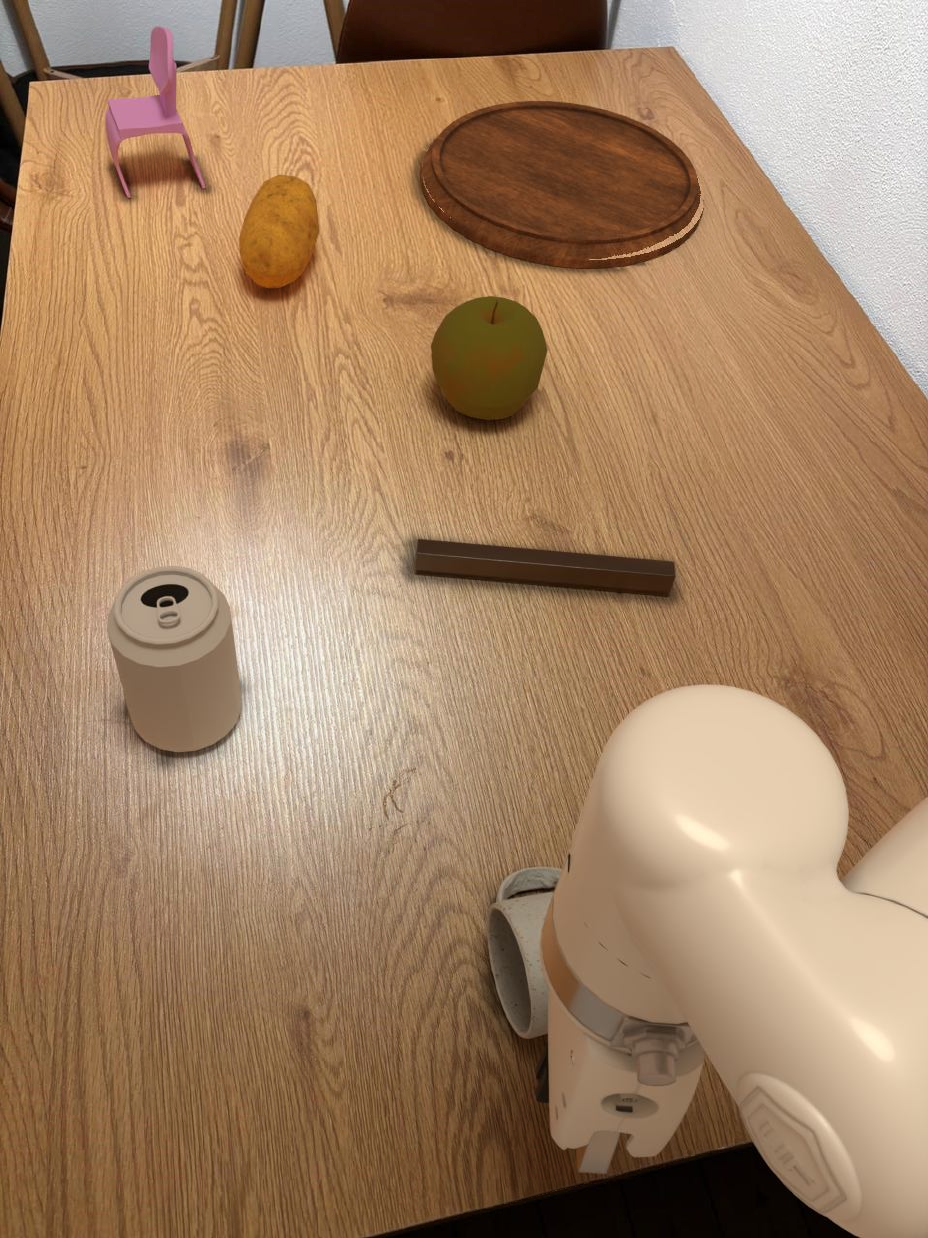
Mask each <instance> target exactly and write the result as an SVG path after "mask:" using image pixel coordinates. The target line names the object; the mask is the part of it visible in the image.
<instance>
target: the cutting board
mask: <svg viewBox="0 0 928 1238" xmlns="http://www.w3.org/2000/svg"><path fill="white" fill-rule="evenodd" d="M432 142H433V143H432ZM432 142H431V144H430V145H429V146H430V147H429V146H428V148H429V149H428V148H427V149H428V151H427V152H426V151H425V152H426V155H425V154H424V155H425V157H424V156H423V158H424V160H423V158H422V160H423V167H422V162H421V164H420V170H421V169H422V173H423V174H421V173H420V177H419V178H420V179H419V180H420V181H419V183H420V187H421V191H422V194H423V197H424V198H425V200H426V202H427V203H428V206H429V207H430V208H431V209H432V210H433V212H434V213H435V214H436V215H437V216H438V218H439V219H440V220H441V221H443V223H445V224H446V225H447V226H449V227H450V228H451V229H452V230H454V231H456V232H457V233H458V234H460V235H462V236H463V237H465V238H466V239H468V240H470V241H472V242H474V243H476V244H478V245H479V246H482V247H485V248H486V249H488V250H491V251H492V252H493V251H494V252H496V253H498V254H501V255H505V256H507V257H510V258H514V259H518V260H522V261H526V262H530V263H533V264H539V265H546V266H553V267H557V268H558V267H559V268H572V269H607V268H616V267H624V266H626V267H627V266H631V265H635V264H640V263H644V262H647V261H650V260H653V259H656V258H658V257H662V256H665V255H666V254H668V253H670V252H672V251H673V250H675V249H677V248H678V247H680V246H681V245H682V244H684V243H685V242H686V241H688V240H689V239H690V238H691V236H692V235H693V234H694V233H695V231H696V230H697V229H698V227H699V225H700V223H701V220H702V217H703V214H704V210H705V207H704V208H703V211H702V214H701V216H700V219H699V220H698V221H697V223H696V224H695V225H694V227H693V228H692V229H691V230H690V231H689V232H688V233H686V234H685V235H684V236H683V237H682V238H680V239H678V240H676V241H675V242H673V243H671V244H669V245H667V246H665V247H662V248H660V249H657V250H654V251H651V252H649V253H644V254H640V255H635V256H631V257H624V258H616V259H607V260H589V259H602V258H608V257H612V256H614V255H615V256H617V255H618V256H619V255H623V254H626V255H627V254H629V253H631V254H632V253H633V252H638V251H640V250H643V249H644V248H646V249H647V247H649V248H650V247H651V246H653V245H655V244H657V243H659V242H662V241H664V240H665V239H667V238H669V236H674V234H677V233H679V232H680V231H681V230H682V229H684V228H685V227H686V226H688V224H689V223H690V222H691V220H692V218H693V217H694V215H695V213H696V211H697V209H698V207H699V204H700V196H701V195H700V194H701V191H700V186H699V183H698V178H699V177H698V178H697V176H698V174H697V170H696V168H695V166H694V165H693V162H692V161H691V158H689V157H688V156H687V154H686V153H685V152H684V151H683V149H682V148H681V147H680V146H678V145H677V144H676V143H674V142H673V141H672V140H671V139H670V138H669V137H667V136H665V135H664V134H662V133H661V132H660V131H658V130H657V129H654V128H653V127H650V126H649V125H648V124H645V123H643V122H641V121H640V120H639V121H638V120H636V119H634V118H631V117H629V116H627V115H623V114H620V113H618V112H614V111H611V110H607V109H605V108H600V107H595V106H590V105H585V104H579V103H573V102H566V101H554V100H524V101H511V102H505V103H498V104H494V105H490V106H485V107H483V108H479V109H475V110H473V111H471V112H469V113H466V114H464V115H461V116H460V117H458V118H457V119H455V120H454V121H452V122H450V124H448V125H447V126H446V127H445V128H444V129H442V130H441V132H440V133H439V135H438V136H437V137H435V139H433V141H432ZM422 175H423V177H424V181H425V185H426V188H427V189H428V191H429V193H428V192H427V190H426V188H425V186H424V183H423V178H422ZM429 194H430V195H431V197H432V198H431V197H430V195H429ZM432 199H434V201H435V202H434V201H433V200H432ZM439 207H440V208H442V210H443V211H444V212H443V211H442V210H441V209H440V208H439ZM450 217H451V218H450Z"/></svg>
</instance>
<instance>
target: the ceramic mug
mask: <svg viewBox="0 0 928 1238" xmlns="http://www.w3.org/2000/svg"><path fill="white" fill-rule="evenodd" d="M561 871H562V868H560V867H559V868H558V867H554V866H530V867H525V868H522V869H521V868H520V869H518V870H516V871H514V872H512V873H510V874H509V875H507V876H506V877H505V878H504V879H503V881H502V882H501V884H500V885H499V888H498V889H497V893H496V898H495V899H496V900H495V902H493V903H492V904H490V907H489V909H488V910H487V911H488V912H487V919H486V938H487V949H488V956H489V964H490V969H491V972H492V976H493V979H494V982H495V988H496V992H497V995H498V998H499V1001H500V1004H501V1007H502V1010H503V1011H504V1014H505V1017H506V1019H507V1021H508V1022H509V1024H510V1026H511V1027H512V1029H513V1030H514V1032H515V1034H516V1035H517V1036H518V1037H520V1038H522V1039H524V1040H530V1039H534V1038H537V1037H540V1036H545V1035H548V986H547V983H546V981H545V978H544V975H543V970H542V965H541V960H540V937H541V930H542V926H543V922H544V919H545V916H546V913H547V910H548V907H549V904H550V901H551V898H552V896H553V893H554V891H549V892H548V891H547V892H542V893H536V894H535V893H534V894H530V895H525V896H520V897H514V898H513V897H512V898H510V897H511V896H513V895H516V894H517V893H519V892H524V891H530V890H540V889H552V888H554V889H555V887H556V884H557V882H558V879H559V877H560V874H561Z"/></svg>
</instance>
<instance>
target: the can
mask: <svg viewBox="0 0 928 1238" xmlns="http://www.w3.org/2000/svg"><path fill="white" fill-rule="evenodd" d="M232 619H233V618H232V612H231V606H230V604H229V601H228V599H227V597H226V596H225V593H223V592H222V591H221V590H220V589H219V588H218V587H217V586H216V585H215V584H214V583H213V582H212V581H211V580H210V579H209V578H207V576H205V574H204V573H201V572H199V571H197V570H195V569H193V568H190V567H185V566H179V565H165V566H163V565H162V566H156V567H152V568H149V569H146V570H143V571H142V572H140V573H138V574H136V575H134V576H133V577H131V578H129V579H128V580H127V581H126V583H124V585H122V587H121V588H119V591H117V595H116V597H115V599H114V601H113V604H112V605H111V608H110V610H109V612H108V614H107V622H106V632H107V635H108V636H107V637H108V639H109V643H110V644H109V645H110V647H111V650H112V655H113V658H114V663H115V666H116V669H117V674H118V677H119V680H120V684H121V688H122V692H123V695H124V699H125V703H126V707H127V710H128V714H129V718H130V721H131V723H132V726H133V728H134V731H135V732H136V734H138V735H139V737H140V738H141V739H142V740H143V741H144V742H145V743H147V744H149V745H151V746H153V747H155V748H157V749H159V750H162V751H163V750H164V751H168V752H174V753H184V752H195V751H199V750H201V749H205V748H207V747H210V746H213V745H214V744H216V743H217V742H218V741H221V740H222V739H223V738H225V737H227V735H228V734H229V733H230V731H232V729H233V728H234V726H235V725H236V724H237V723H238V720H239V717H240V715H241V712H242V709H243V705H242V704H243V703H242V702H243V701H242V689H241V682H240V674H239V666H238V659H237V650H236V649H237V648H236V644H235V634H234V627H233V626H234V625H233V620H232Z"/></svg>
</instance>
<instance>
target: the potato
mask: <svg viewBox="0 0 928 1238" xmlns="http://www.w3.org/2000/svg"><path fill="white" fill-rule="evenodd" d="M317 203H318V202H317V198H316V196H315V193H314V191H313V189H312V188H311V185H310V184H309V183H308V182H307V181H305V180H303V179H301V178H300V177H298V176H294V175H285V174H277V175H275V176H273V177H270V178H269V179H266V180H264V181H263V183H262V184H261V185H260V188H259V189H258V190H257V192H256V193H255V195H254V196H253V198H252V200H251V203H250V205H249V207H248V209H247V212H246V214H245V217H244V220H243V223H242V225H241V226H242V227H241V229H240V232H239V233H240V234H239V236H238V237H239V238H238V241H239V243H238V247H239V255H240V259H241V263H242V266H243V270H244V272H245V273H246V274H247V275H248V276H249V277H250V279H252V280H253V282H254V283H255V284H256V285H257V286H259V287H262V288H265V289H280V288H282V287H285V286H286V285H289V284H290V283H293V282H295V281H296V280H297V279H298V278H299V277H300V276H301V275H303V273H304V271H305V269H306V267H307V265H308V263H309V262H310V261H311V258H313V257H312V256H313V253H314V251H315V248H316V244H317V242H318V237H319V234H320V222H319V212H318V205H317Z"/></svg>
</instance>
